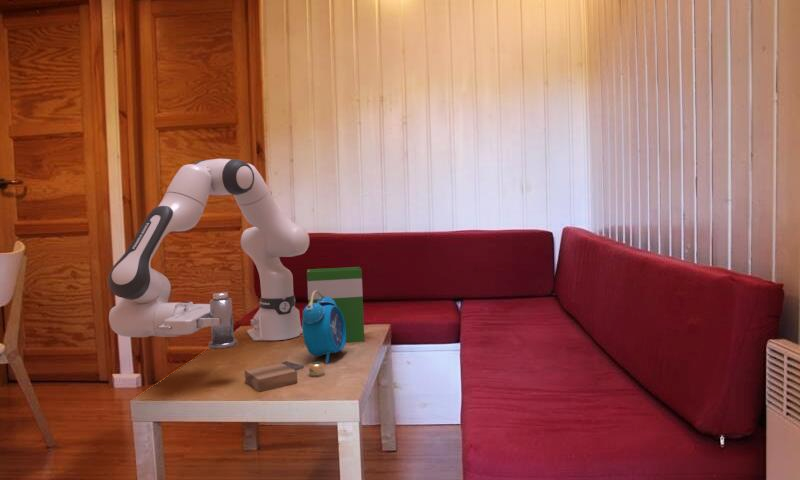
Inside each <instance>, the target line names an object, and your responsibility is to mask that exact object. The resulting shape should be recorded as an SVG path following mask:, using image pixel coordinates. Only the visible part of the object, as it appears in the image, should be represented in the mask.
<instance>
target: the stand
mask: <svg viewBox="0 0 800 480" xmlns="http://www.w3.org/2000/svg"><path fill="white" fill-rule="evenodd" d="M244 378H245V383H246V384H248V385H249V386H250V387H252V388H254V389H255V390H257V391H258V392H259V393H260V392H264V391H268V390H272V389H273V390H274V389H276V388H281V387H286V386H290V385H295V384H298V370H296V371H295V370H294V369H292V368H290V367H288V366H286V365H284V364H282V362H280V363H279V362H278V363H274V364H268V365H265V366H259V367H255V368H249V369H245V370H244Z"/></svg>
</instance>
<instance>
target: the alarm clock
mask: <svg viewBox="0 0 800 480" xmlns="http://www.w3.org/2000/svg"><path fill="white" fill-rule="evenodd" d="M315 292H317V293H318V294H319V295H320V296H321V297H323V298H321V299H319V300H318V302H317V303H313V297H314V294H315ZM301 323H302V325H301V328H302V329H303V333H302V336H303V341H304V344H305V347H306V349H307V351H308V352H309V354H310V355H311V356H312V357H322V356H326V357H325V363H326V364H329V361H330V354H333V353H335V354H336V353H341V352H342V350H343V349H344V348H345V347H346V343H345V342H346V328H345V322H344V318H343V315H342V313H341V311H340V309H339V308H338V307H337V306H336V303H335V301H334V300H333V299H332V298H329V297H327V296H323V295H322V294H321V293H320V292H319V291H317V290H315V291H313V293H312V295H311V300H310V303H309V305H308V304H307V305H306V306H305V307H304V309H303V310H302V322H301Z"/></svg>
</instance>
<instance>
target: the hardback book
mask: <svg viewBox="0 0 800 480" xmlns="http://www.w3.org/2000/svg"><path fill="white" fill-rule="evenodd" d="M306 270H307V271H306V279H307V280H306V281H307V282H306V283H307V305H309V303H310V300H311V295H312V293H313V291H315V290H317V291H319V292H320V293H321V294H322V295H323V296H327V297H329V298H332V299H333V300H334V301H335V303H336V306H337V307H338V308H339V309H340V311H341V313H342V315H343V318H344V322H345V328H346V342H345V344H349V343H350V344H351V343H364V342H365V321H364V319H365V318H364V301H363V300H364V299H363V298H364V297H363V270H362V268H361V267H360V266H352V267H350V266H349V267H335V268H334V267H333V268H330V267H329V268H314V269H311V268H310V269H306ZM321 298H323V297H321V296H320V295H319V294H318V293H317V292H315V294H314V297H313V303H317V302H318V300H319V299H321Z"/></svg>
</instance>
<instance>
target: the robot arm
mask: <svg viewBox="0 0 800 480" xmlns="http://www.w3.org/2000/svg"><path fill="white" fill-rule="evenodd" d="M270 191H271V190H269V188H268V185H267V183H266V182H265V180H264V177H262V175H261V173H260V172H259V171H258V169H257V168H256V166H255V165H253V164H251V163H247V162H246V161H244V160H242V159H236V158H234V159H233V158H232V159H230V158H214V159H201V160H197V161H194V162H193V163H187V164H184V165H183V166H181V167H180V168H179V170H178V171H177V172H176V174H175V175H174V177H173V178H172V180H171V182H169V185H168V187H167V189H166V192H165V194H164V196H163V197H162V199H161V201H160V203H159V204H158V206H156V207H155V208H153V209H152V210H151V211H150V212H149V213H148V215H147V216H146V217H145V218H144V220H143V222H142V224H141V226H140V228H139V229H138V231H137V232H136V234H135V235H134V237H133V239H132V241H131V243H130V244H129V246H128V248H127V249H126V251H125V252H124V253H123V255H122V256H121V257H120V258H119V260H117V262H115V264H114V265H113V266H112V268H111V269H110V271H109V274H108V277H107V283H108V284H107V285H108V288H109V290H110V291H111V293H112V294H113V295H114V296H116V297H117V298H122V299H121V300H120V301H119V302H118V303H117V305H115V306H113V307H112V308H110V310H109V312H108V313H109V314H108V322H109V325H110V328H111V330H112V331H113V332H114V334H117V335H119V336H121V337H125V338H126V337H127V338H129V337H130V338H148V337H151V336H154V337H159V338H163V337H164V338H166V337H167V338H169V337H171V338H173V337H177V338H179V337H181V336H184V335H186V336H187V335H192V334H194V333H196V332H197V331H199V330H202V329H203V328H208V327H211V326H218V325H219V324H221V318H220V317H218V318H217V317H214V318H211V315H210V303H194V302H193V301H184V302H169V299H170V296H171V292H172V283H171V281H170V279H169V278H168V277H167V276H166V275H164V274H163V273H161V272H159V271H158V270H156V269H154V268H152V267H151V266H152V265H151V263H152V260H153V257H154V255H156V252H157V250H158V249H159V247H160V245H161V243H162V241H163V239H164V238H165V237H166V235H168V234H170V233H171V232H186V231H189V230H191V229H193V228H195V227H196V226H197V224H198V223H199V221H200V220H201V218H202V216H203V213H204V210H205V208H206V206H207V202H208V200H209V196H210V195H211V196H230V195H233V198H234V199H235V202H236V204H237V206H238V208H239V210H240V211H241V213H242V215H243V217H244V219H245V221H246V222H247V223H248V224H249V225H251V226H252V227H249V228H246V229H245V230H244V231H243V232H242V234H241V238H240V246H241V249H242V251H243V252H244V253H245V254H246V255H248V256H249V258H251V260H252V261H253V263H254V265H255V266H256V269H257V272H258V275H259V281H260V282H259V283H260V295H261V296H260V298H259V306H258V307H259V309H258V310H257V312H256V313H255V314H254V316H253V318H252V319H250V325H251V326H253V327H252V328H249V329H247V334H248V335H249V337H250V339H252V341H282V340H284V341H285V340H289V339H293V338H297V337H299V336H300V335H301V334H303V328H302V325H301V318H300V315H301V314H300V310H299V309H298V308H297V307H296V306H295V305H296V297H295V296H296V295H295V294H294V277H293V273H292V272H291V270H290V269H288V268H287V267H286V266H284V265H283V263H282V262H281V257H283V258H286V257H287V258H288V257H289V258H291V257H297V256H301V255H303V254H305V253H306V251H308V248H309V247H310V235H309V233H308V231H307V230H306V229H305V228H304V227H303V226H301V225H299V224H297V223H295V222H293V221H292V220H291V219H290V218H288V217H287V215H285V214H284V213H283V212H282V211H281V209H280V208H279V206H278V205H277V204H276V202H275V200H274V198H273V196H272V193H271V192H270Z"/></svg>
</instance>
